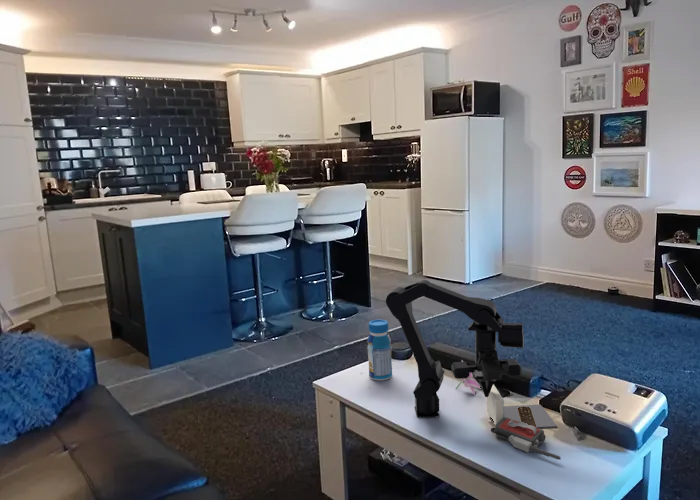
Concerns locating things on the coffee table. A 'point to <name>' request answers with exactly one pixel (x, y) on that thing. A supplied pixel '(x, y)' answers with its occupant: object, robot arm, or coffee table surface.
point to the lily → (470, 382)
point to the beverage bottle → (379, 351)
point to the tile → (495, 405)
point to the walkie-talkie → (521, 435)
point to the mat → (538, 412)
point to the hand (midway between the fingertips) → (486, 396)
